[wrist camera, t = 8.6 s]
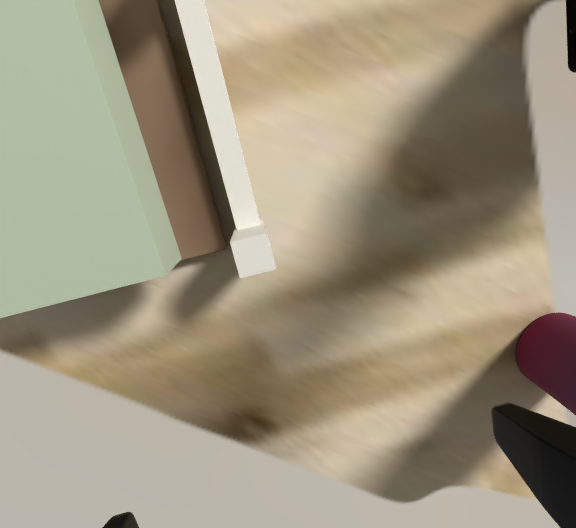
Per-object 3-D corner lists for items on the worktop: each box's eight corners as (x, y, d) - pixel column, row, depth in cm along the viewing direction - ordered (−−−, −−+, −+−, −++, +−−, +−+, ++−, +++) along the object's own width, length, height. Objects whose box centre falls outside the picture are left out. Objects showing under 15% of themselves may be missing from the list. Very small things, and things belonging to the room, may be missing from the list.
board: (181, 258, 15) (165, 275, 12) (34, 296, 15) (-18, 322, 12) (80, -56, 12) (28, -131, 9) (-105, -19, 12) (-218, -85, 9)
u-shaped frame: (197, -39, 16) (168, -165, 10) (268, 244, 20) (276, 268, 14) (165, -33, 16) (119, -156, 10) (242, 251, 20) (240, 278, 14)
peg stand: (153, -18, 16) (123, -82, 12) (227, 245, 19) (222, 260, 15) (-63, 26, 16) (-165, -26, 12) (48, 290, 19) (-4, 317, 15)
